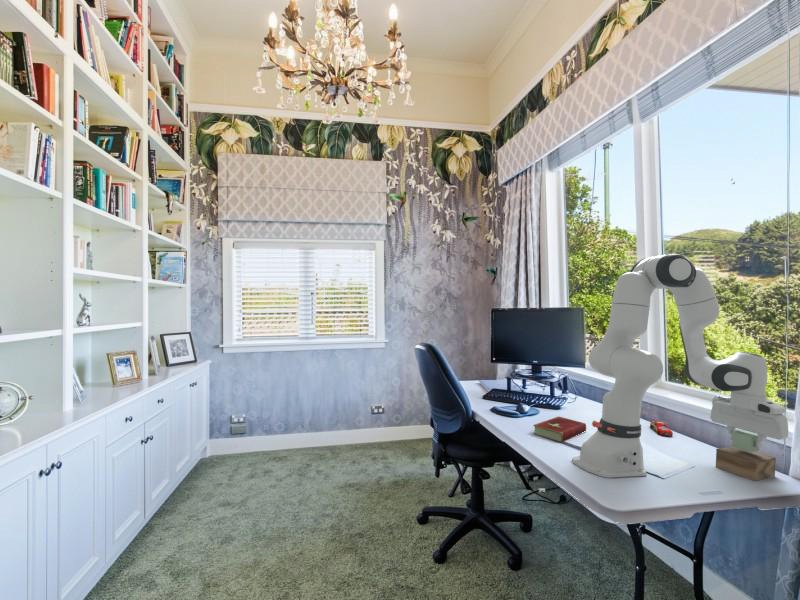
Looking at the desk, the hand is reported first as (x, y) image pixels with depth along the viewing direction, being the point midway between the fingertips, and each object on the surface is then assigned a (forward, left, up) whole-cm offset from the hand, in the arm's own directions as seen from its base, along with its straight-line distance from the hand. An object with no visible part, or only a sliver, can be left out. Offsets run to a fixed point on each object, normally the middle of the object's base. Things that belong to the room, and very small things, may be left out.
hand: (745, 443), depth 132 cm
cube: (0, 0, -2) cm, 2 cm away
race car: (+13, +37, -10) cm, 40 cm away
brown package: (0, 0, -9) cm, 9 cm away
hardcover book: (-32, +48, -10) cm, 58 cm away
